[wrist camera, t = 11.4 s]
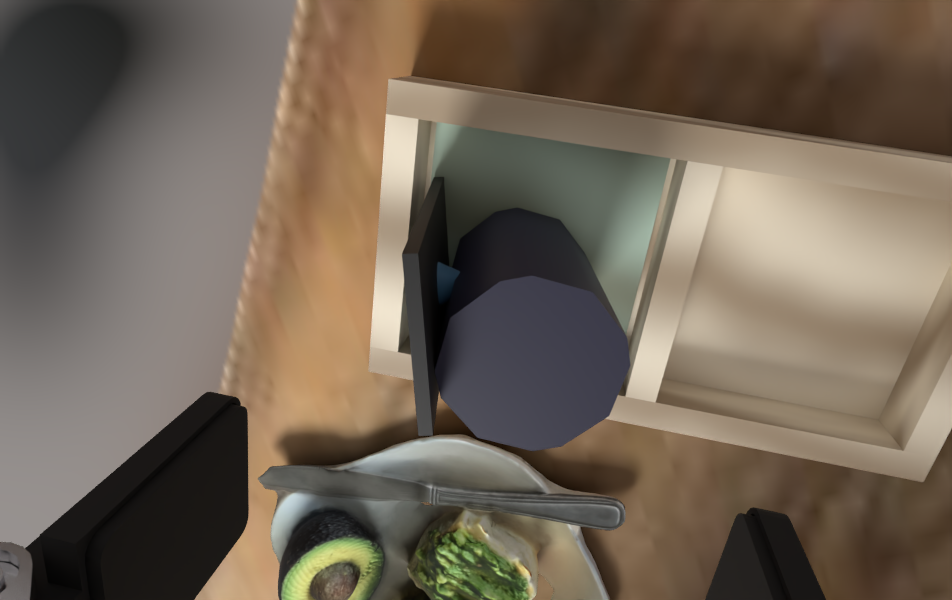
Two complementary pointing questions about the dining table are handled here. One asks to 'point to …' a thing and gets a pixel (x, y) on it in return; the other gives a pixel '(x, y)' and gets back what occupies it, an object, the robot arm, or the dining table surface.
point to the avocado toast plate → (434, 527)
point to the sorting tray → (708, 263)
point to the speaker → (510, 328)
